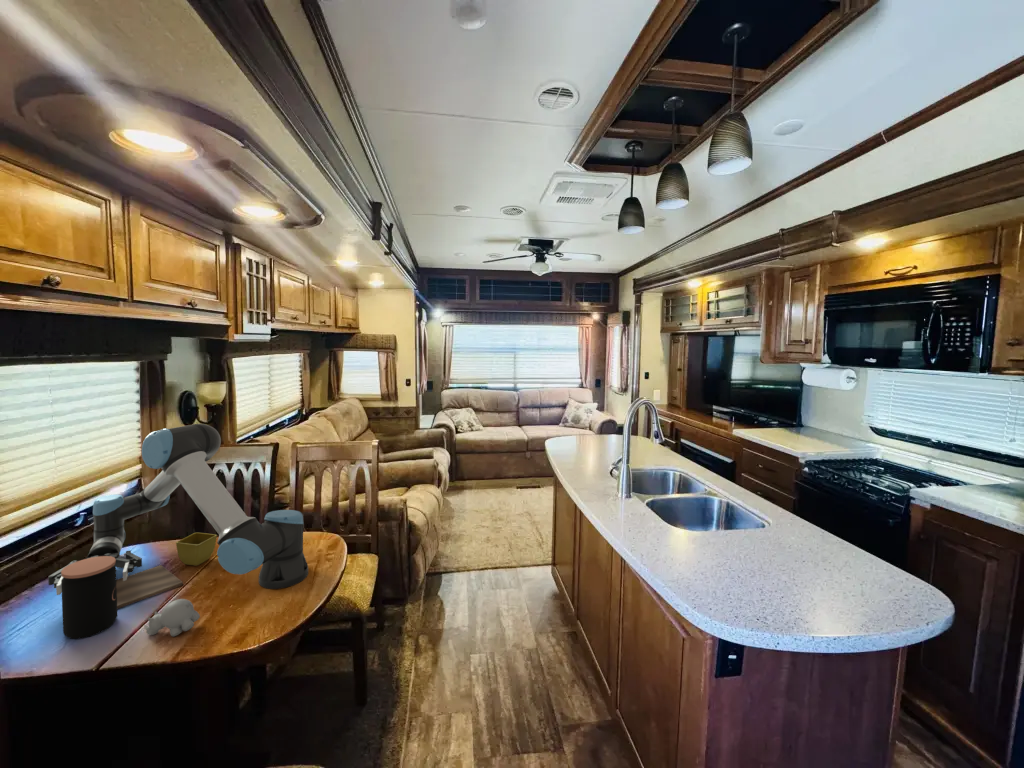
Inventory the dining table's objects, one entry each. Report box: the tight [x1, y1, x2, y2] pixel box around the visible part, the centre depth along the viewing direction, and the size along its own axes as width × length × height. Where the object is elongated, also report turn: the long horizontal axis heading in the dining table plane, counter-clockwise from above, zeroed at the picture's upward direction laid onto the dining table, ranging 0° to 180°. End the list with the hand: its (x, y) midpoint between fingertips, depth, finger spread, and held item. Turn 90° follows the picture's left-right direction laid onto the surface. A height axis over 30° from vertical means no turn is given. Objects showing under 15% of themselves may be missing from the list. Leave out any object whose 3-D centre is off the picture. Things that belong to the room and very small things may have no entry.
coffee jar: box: [61, 556, 118, 640], centre depth 116 cm, size 11×11×18 cm
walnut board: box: [116, 564, 184, 610], centre depth 136 cm, size 18×18×1 cm
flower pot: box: [175, 532, 218, 567], centre depth 153 cm, size 9×9×9 cm
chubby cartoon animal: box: [144, 598, 201, 637], centre depth 116 cm, size 7×12×8 cm, turn 102°
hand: (92, 583), depth 121 cm, fingers open, 13 cm apart
